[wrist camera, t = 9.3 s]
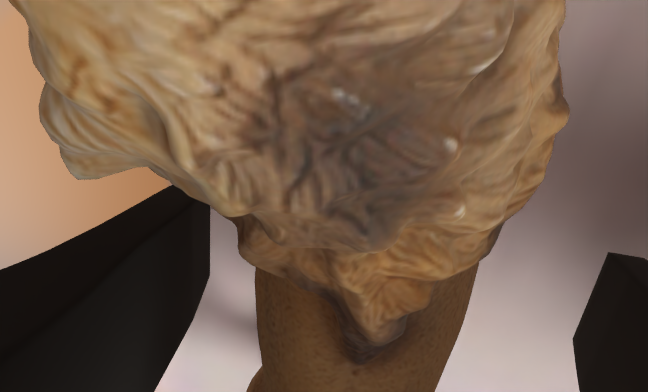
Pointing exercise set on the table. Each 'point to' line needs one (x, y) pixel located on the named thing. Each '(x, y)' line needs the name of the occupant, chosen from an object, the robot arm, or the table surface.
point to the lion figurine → (322, 153)
